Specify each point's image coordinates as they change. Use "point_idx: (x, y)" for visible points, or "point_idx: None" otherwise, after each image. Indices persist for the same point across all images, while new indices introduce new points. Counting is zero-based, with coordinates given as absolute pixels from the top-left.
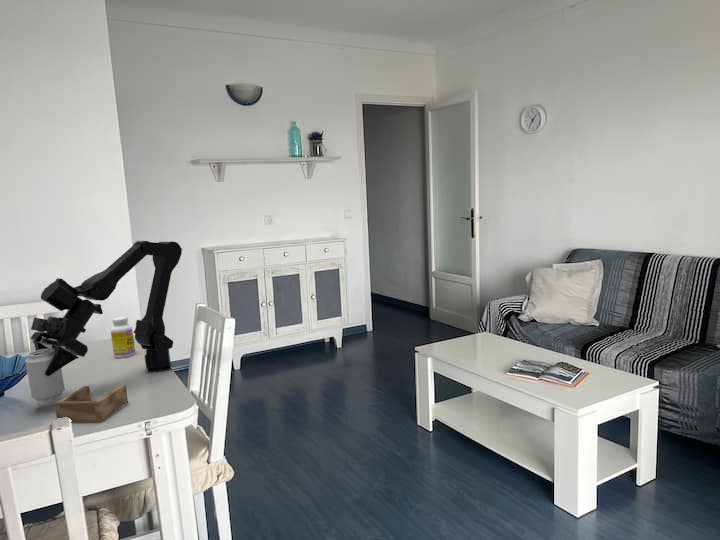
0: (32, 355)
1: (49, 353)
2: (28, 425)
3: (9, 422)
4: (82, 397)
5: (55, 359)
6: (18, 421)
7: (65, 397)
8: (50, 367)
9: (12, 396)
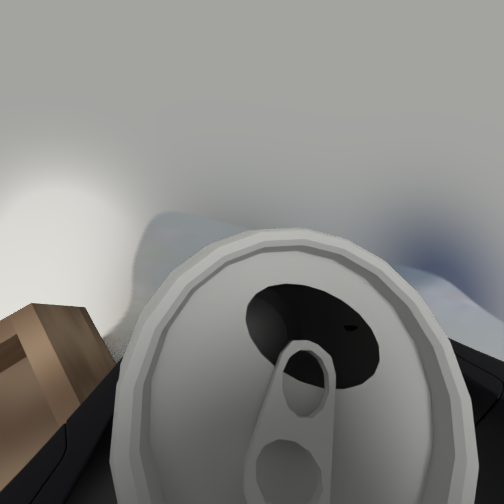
0: (319, 285)
1: (116, 481)
2: (152, 250)
3: (223, 227)
4: None
5: (19, 476)
6: (209, 242)
7: (52, 359)
8: (110, 374)
9: (433, 286)
